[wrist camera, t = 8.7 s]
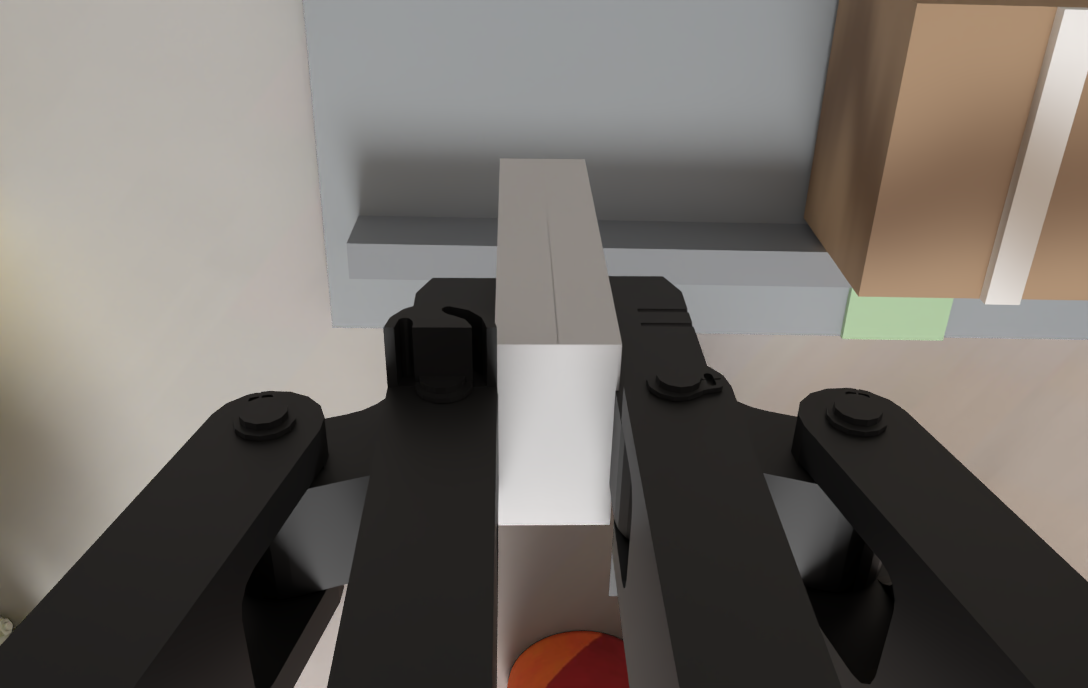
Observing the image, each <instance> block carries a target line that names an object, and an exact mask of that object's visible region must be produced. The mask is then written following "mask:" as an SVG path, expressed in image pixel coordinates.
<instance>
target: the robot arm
mask: <svg viewBox="0 0 1088 688" xmlns="http://www.w3.org/2000/svg"><path fill="white" fill-rule="evenodd" d="M687 310H688V309H687V306H686V303H685V300H684V297H683V294H682V292H681V291H680V290H679V289H678V288H677V287H675V286H674V285H673V284H672V283H671V282H669V281H668V280H667V279H666V278H664V277H663V276H608V272H607V267H606V262H605V257H604V252H603V247H602V242H601V237H600V232H599V227H598V222H597V217H596V212H595V207H594V202H593V197H592V192H591V187H590V182H589V177H588V172H587V168H586V163H585V159H511V158H500V171H499V204H498V237H497V270H496V278H432V279H431V280H430V281H428V282H427V283H426V284H425V285H424V286H423V287H422V288H421V289H420V290H419V291H418V292H417V293H416V295H415V300H414V306H411V307H408V308H405V309H403V310H401V311H399V312H398V313H396V314H394V315H393V316H391V317H390V318H389V319H388V321H387V323H386V324H385V326H384V327H383V329H384V343H385V357H386V370H387V384H388V389H387V393H386V398H385V399H384V400H382V401H381V402H379V403H378V404H376V405H374V406H371V407H369V408H367V409H364V410H362V411H358V412H354V413H350V414H347V415H342V416H336V417H331V418H326V419H325V418H324V415H323V412H322V409H321V406H320V405H319V404H318V403H316V402H315V401H313V400H312V399H311V398H309V397H308V396H304V395H300V394H297V393H293V392H279V391H266V392H261V393H254V394H249V395H246V396H244V397H241V398H239V399H236V400H234V401H231V402H229V403H226V404H225V405H224V406H222V407H221V408H220V409H219V410H217V411H216V412H215V413H213V414H212V415H211V416H210V417H209V418H208V419H207V420H206V422H205V423H204V424H203V425H202V426H201V427H200V428H199V429H198V430H197V431H196V432H195V434H194V435H193V436H192V437H191V438H190V439H189V440H188V441H187V442H186V443H185V444H184V446H183V447H182V448H181V449H180V450H179V451H178V452H177V453H176V454H175V455H174V456H173V458H172V459H171V460H170V461H169V462H168V463H167V464H166V465H165V466H164V467H163V468H162V470H161V471H160V472H159V473H158V474H157V475H156V476H155V477H154V478H153V479H152V480H151V482H150V483H149V484H148V485H147V486H146V487H145V488H144V489H143V490H142V491H141V492H140V494H139V495H138V496H137V497H136V498H135V499H134V500H133V501H132V502H131V503H130V504H129V506H128V507H127V508H126V509H125V510H124V511H123V512H122V513H121V514H120V515H119V516H118V518H117V519H116V520H115V521H114V522H113V523H112V524H111V525H110V526H109V527H108V529H107V530H106V531H105V532H104V533H103V534H102V535H101V536H100V537H99V538H98V539H97V541H96V542H95V543H94V544H93V545H92V546H91V547H90V548H89V549H88V550H87V551H86V553H85V554H84V555H83V556H82V557H81V558H80V559H79V560H78V561H77V562H76V563H75V565H74V566H73V567H72V568H71V569H70V570H69V571H68V572H67V573H66V574H65V575H64V577H63V578H62V579H61V580H60V581H59V582H58V583H57V584H56V585H55V586H54V587H53V589H52V590H51V591H50V592H49V593H48V594H47V595H46V596H45V597H44V598H43V599H42V601H41V602H40V603H39V604H38V605H37V606H36V607H35V608H34V609H33V610H32V611H31V613H30V614H29V615H28V616H27V617H26V618H25V619H24V620H23V621H22V622H21V623H20V625H19V626H18V627H17V628H16V629H15V630H14V631H13V632H12V633H11V634H10V635H9V637H8V638H7V639H6V640H5V641H4V642H3V643H2V644H1V645H0V688H294V686H295V684H296V682H297V680H298V678H299V677H300V675H301V673H302V671H303V669H304V667H305V665H306V664H307V662H308V660H309V658H310V656H311V654H312V653H313V651H314V649H315V647H316V645H317V643H318V642H319V640H320V638H321V636H322V634H323V632H324V630H325V629H326V627H327V625H328V623H329V621H330V619H331V618H332V616H333V614H334V612H335V610H336V608H337V607H338V605H339V603H340V600H341V596H342V593H343V589H344V584H348V587H347V591H346V596H345V601H344V606H343V611H342V616H341V621H340V626H339V631H338V636H337V641H336V646H335V651H334V656H333V661H332V666H331V671H330V676H329V681H328V686H327V688H497V617H498V525H610V515H611V501H612V507H613V514H614V529H613V543H612V557H611V571H610V585H609V596H617V595H618V602H619V610H620V618H621V626H622V633H623V641H624V649H625V657H626V664H627V672H628V680H629V688H1088V582H1087V581H1086V580H1085V579H1084V578H1083V577H1082V576H1081V575H1080V574H1079V573H1078V572H1077V571H1076V570H1075V569H1074V568H1072V567H1071V566H1070V565H1069V564H1068V563H1067V562H1066V561H1065V560H1064V559H1063V558H1062V557H1061V556H1060V555H1059V554H1058V553H1056V552H1055V551H1054V550H1053V549H1052V548H1051V547H1050V546H1049V545H1048V544H1047V543H1046V542H1045V541H1044V540H1043V539H1042V538H1040V537H1039V536H1038V535H1037V534H1036V533H1035V532H1034V531H1033V530H1032V529H1031V528H1030V527H1029V526H1028V525H1027V524H1026V523H1024V522H1023V521H1022V520H1021V519H1020V518H1019V517H1018V516H1017V515H1016V514H1015V513H1014V512H1013V511H1012V510H1011V509H1010V508H1009V507H1007V506H1006V505H1005V504H1004V503H1003V502H1002V501H1001V500H1000V499H999V498H998V497H997V496H996V495H995V494H994V493H993V492H991V491H990V490H989V489H988V488H987V487H986V486H985V485H984V484H983V483H982V482H981V481H980V480H979V479H978V478H977V477H975V476H974V475H973V474H972V473H971V472H970V471H969V470H968V469H967V468H966V467H965V466H964V465H963V464H962V463H961V462H959V461H958V460H957V459H956V458H955V457H954V456H953V455H952V454H951V453H950V452H949V451H948V450H947V449H946V448H945V447H944V446H942V445H941V444H940V443H939V442H938V441H937V440H936V439H935V438H934V437H933V436H932V435H931V434H930V433H929V432H928V431H926V430H925V429H924V428H923V427H922V426H921V425H920V424H919V423H918V422H917V421H916V420H915V419H914V418H913V417H912V416H910V415H909V414H908V413H907V412H906V411H905V410H903V409H902V408H901V407H899V406H898V405H896V404H895V403H893V402H892V401H890V400H888V399H886V398H883V397H881V396H878V395H875V394H873V393H871V392H868V391H864V390H860V389H859V390H856V389H852V388H836V389H824V390H821V391H817V392H814V393H810V394H809V395H808V396H807V397H806V398H804V399H803V400H802V401H801V402H800V405H799V411H798V416H797V417H795V416H790V415H785V414H779V413H774V412H769V411H764V410H761V409H757V408H753V407H750V406H747V405H745V404H742V403H740V402H737V400H736V398H735V395H734V392H733V389H732V387H731V385H730V384H729V383H728V381H727V380H726V378H725V377H724V376H723V375H722V374H720V373H718V372H717V371H715V370H713V369H712V368H710V367H708V366H707V364H706V361H705V358H704V356H703V353H702V350H701V347H700V344H699V341H698V338H697V335H696V332H695V329H694V327H692V320H691V318H690V315H689V312H687Z"/></svg>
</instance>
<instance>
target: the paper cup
mask: <svg viewBox="0 0 1088 688" xmlns="http://www.w3.org/2000/svg"><path fill="white" fill-rule="evenodd" d="M507 688H629V680H628V672H627V664H626V657H625V649H624V641H623V640H621V639H619V638H617V637H614V636H611V635H608V634H605V633H600V632H593V631H571V632H564V633H559V634H556V635H552V636H549V637H547V638H544V639H542V640H540V641H538V642H536V643H535V644H533V645H532V646H530V647H529V648H528V649H526V650H525V651H524V652H523V653H522V654H521V655H520V656H519V657H518V659H517V660H516V662H515V663H514V665H513V667H512V669H511V672H510V676H509V680H508V686H507Z"/></svg>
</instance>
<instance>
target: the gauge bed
mask: <svg viewBox="0 0 1088 688" xmlns="http://www.w3.org/2000/svg"><path fill="white" fill-rule="evenodd" d="M838 4H839V0H303V8H304V19H305V30H306V41H307V52H308V63H309V74H310V85H311V96H312V107H313V118H314V129H315V140H316V152H317V163H318V174H319V185H320V196H321V207H322V218H323V229H324V240H325V251H326V262H327V273H328V284H329V295H330V306H331V318H332V328H383V327H384V326H385V324H386V323H387V321H388V319H389V318H390V317H391V316H393V315H394V314H396V313H398V312H399V311H401V310H403V309H405V308H408V307H411V306H414V300H415V295H416V293H417V292H418V291H419V290H420V289H421V288H422V287H423V286H424V285H425V284H426V283H427V282H428V281H430V280H431V279H432V278H496V270H497V237H498V204H499V171H500V158H511V159H585V163H586V168H587V172H588V177H589V182H590V187H591V192H592V197H593V202H594V207H595V212H596V217H597V222H598V227H599V232H600V237H601V242H602V247H603V252H604V257H605V262H606V267H607V272H608V276H663V277H664V278H666V279H667V280H668V281H669V282H671V283H672V284H673V285H674V286H675V287H677V288H678V289H679V290H680V291H681V292H682V294H683V297H684V300H685V303H686V306H687V309H688V310H687V312H689V315H690V318H691V320H692V327H694V329H695V332H696V333H703V334H765V335H827V336H841V338H842V339H879V340H941V341H943V338H944V337H950V338H1012V339H1074V340H1088V301H1087V300H1029V299H1021V302H1020V305H990V304H984V303H983V302H982V301H981V300H980V299H971V298H912V297H858V295H857V294H856V292H855V291H854V290H853V288H852V287H851V285H850V284H849V282H848V281H847V280H846V278H845V277H844V275H843V274H842V272H841V271H840V269H839V268H838V267H837V265H836V264H835V262H834V261H833V259H832V258H831V256H830V255H829V254H828V252H827V251H826V249H825V248H824V246H823V245H822V244H821V242H820V241H819V239H818V238H817V236H816V235H815V233H814V232H813V231H812V229H811V228H810V226H809V225H808V223H807V222H806V221H805V219H804V212H805V206H806V199H807V193H808V187H809V181H810V175H811V169H812V163H813V157H814V151H815V144H816V138H817V132H818V126H819V120H820V114H821V108H822V102H823V96H824V90H825V83H826V77H827V71H828V65H829V59H830V53H831V47H832V41H833V35H834V28H835V22H836V16H837V10H838Z"/></svg>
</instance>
